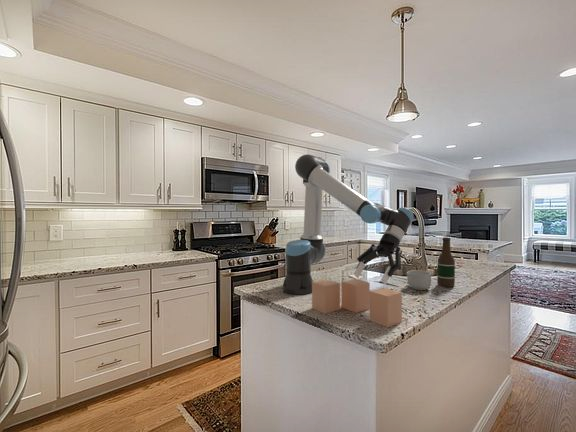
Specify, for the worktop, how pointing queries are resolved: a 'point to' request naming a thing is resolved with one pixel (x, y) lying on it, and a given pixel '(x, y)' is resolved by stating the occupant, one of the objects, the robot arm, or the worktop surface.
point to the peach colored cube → (326, 296)
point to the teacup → (419, 279)
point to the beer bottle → (446, 266)
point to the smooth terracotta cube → (355, 295)
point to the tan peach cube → (385, 307)
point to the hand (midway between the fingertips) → (369, 279)
